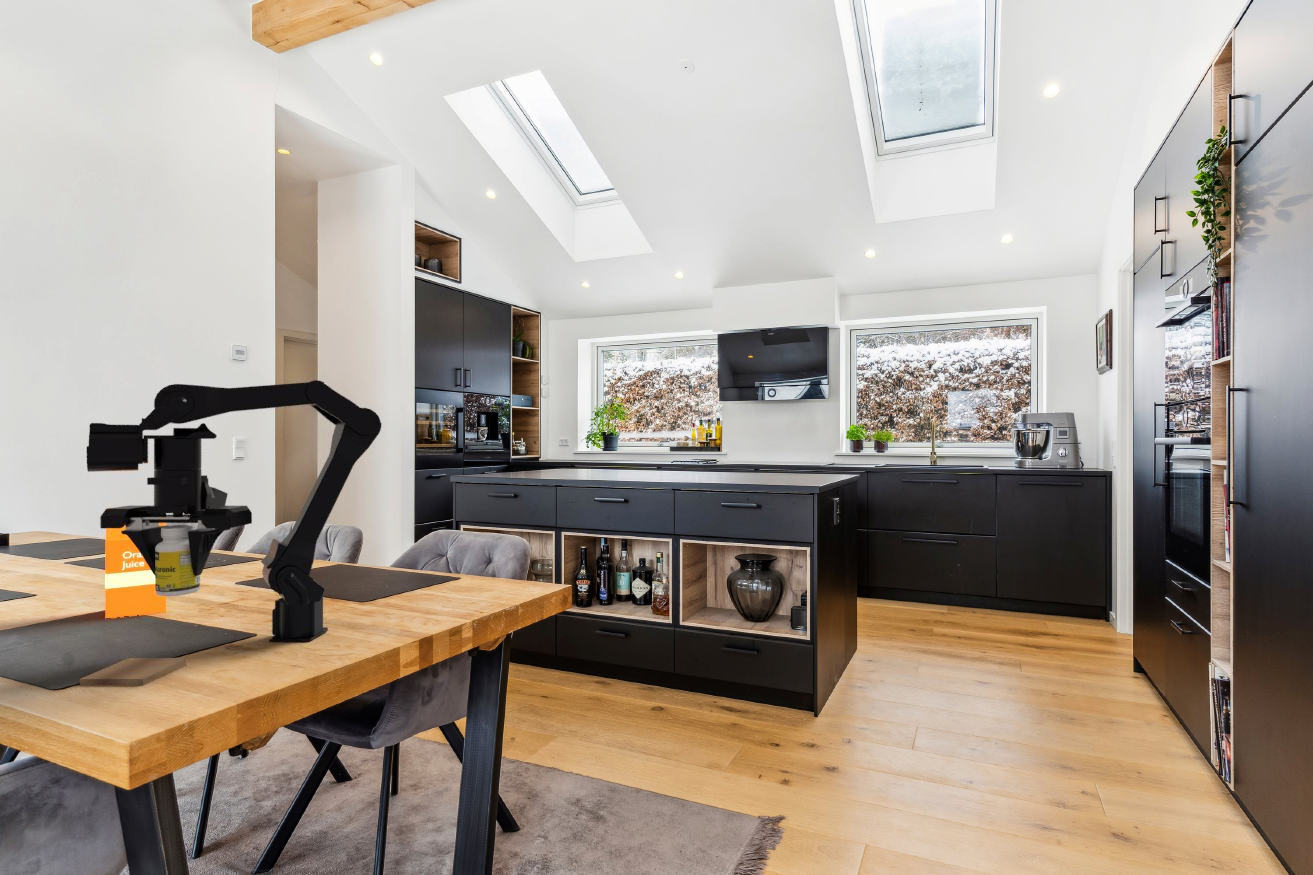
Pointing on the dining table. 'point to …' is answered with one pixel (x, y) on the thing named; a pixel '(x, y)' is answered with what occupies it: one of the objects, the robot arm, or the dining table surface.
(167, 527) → the supplement bottle
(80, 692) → the dining table surface
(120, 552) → the orange juice
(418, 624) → the dining table surface
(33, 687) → the dining table surface
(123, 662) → the walnut slab
